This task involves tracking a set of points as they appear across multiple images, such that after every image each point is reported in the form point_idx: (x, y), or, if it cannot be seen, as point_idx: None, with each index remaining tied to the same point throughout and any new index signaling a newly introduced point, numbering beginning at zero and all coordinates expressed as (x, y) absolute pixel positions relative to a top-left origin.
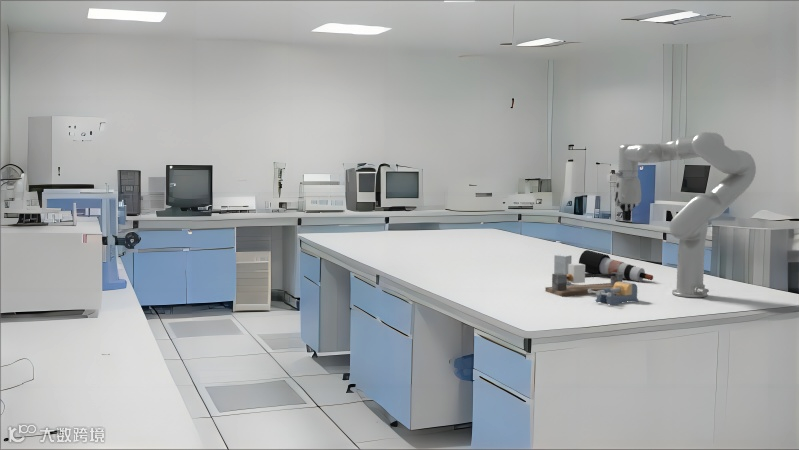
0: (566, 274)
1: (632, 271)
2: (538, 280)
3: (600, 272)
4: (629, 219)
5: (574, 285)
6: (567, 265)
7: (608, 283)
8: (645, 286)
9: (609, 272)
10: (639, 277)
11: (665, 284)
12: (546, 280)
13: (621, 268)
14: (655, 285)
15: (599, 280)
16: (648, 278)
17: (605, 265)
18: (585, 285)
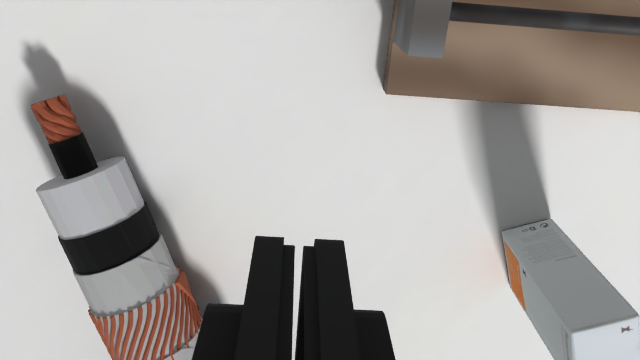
0: (568, 248)
1: (125, 202)
2: None
3: None
4: (284, 253)
5: (621, 109)
6: (586, 280)
7: (401, 85)
8: (175, 7)
9: (197, 309)
10: (99, 165)
11: (6, 12)
12: (524, 342)
13: (157, 269)
14: (92, 10)
15: (294, 259)
16: (69, 109)
17: None
18: (570, 83)
